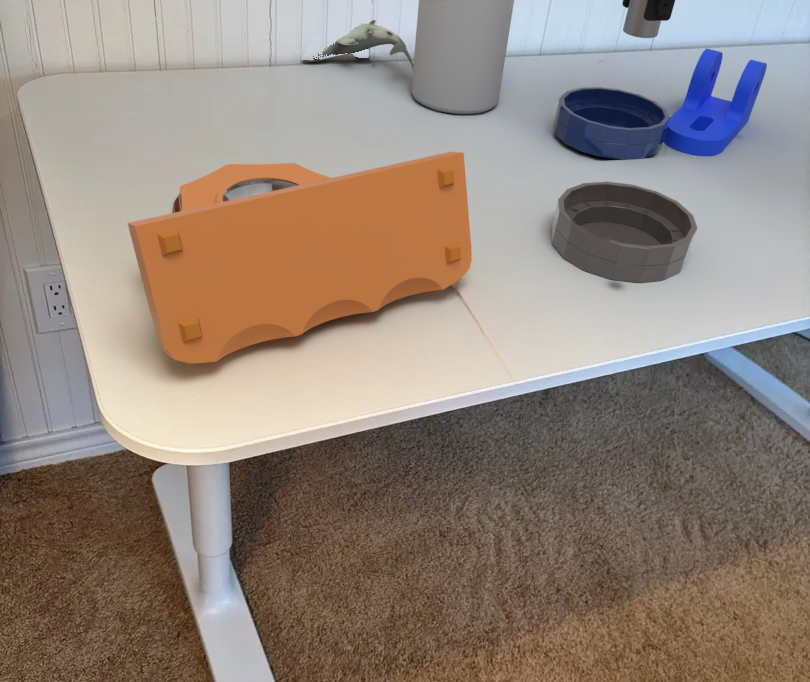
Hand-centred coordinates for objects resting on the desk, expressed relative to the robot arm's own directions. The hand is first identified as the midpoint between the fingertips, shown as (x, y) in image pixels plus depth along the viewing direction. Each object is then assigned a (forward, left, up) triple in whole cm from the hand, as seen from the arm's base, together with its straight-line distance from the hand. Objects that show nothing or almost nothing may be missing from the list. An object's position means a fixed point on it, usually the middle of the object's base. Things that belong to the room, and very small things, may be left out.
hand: (645, 11), depth 94 cm
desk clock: (+44, +30, -10) cm, 54 cm away
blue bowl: (-3, -6, -18) cm, 19 cm away
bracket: (-19, -7, -18) cm, 27 cm away
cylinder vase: (+13, -22, -18) cm, 31 cm away
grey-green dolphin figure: (+25, -35, -13) cm, 45 cm away
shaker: (0, 0, -2) cm, 2 cm away
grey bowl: (+10, +21, -18) cm, 30 cm away
